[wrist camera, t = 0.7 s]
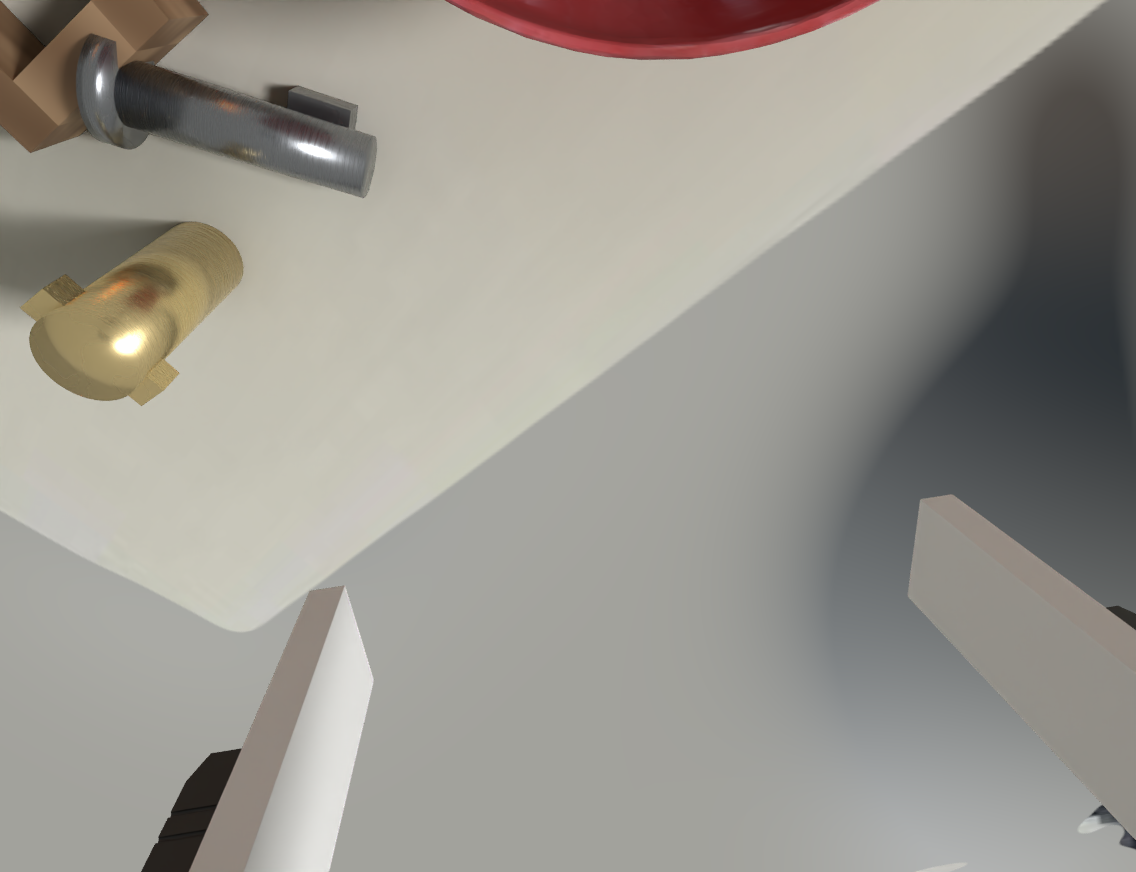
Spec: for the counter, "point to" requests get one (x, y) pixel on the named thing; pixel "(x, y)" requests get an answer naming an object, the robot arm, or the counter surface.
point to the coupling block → (48, 74)
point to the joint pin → (132, 315)
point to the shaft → (223, 120)
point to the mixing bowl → (660, 23)
